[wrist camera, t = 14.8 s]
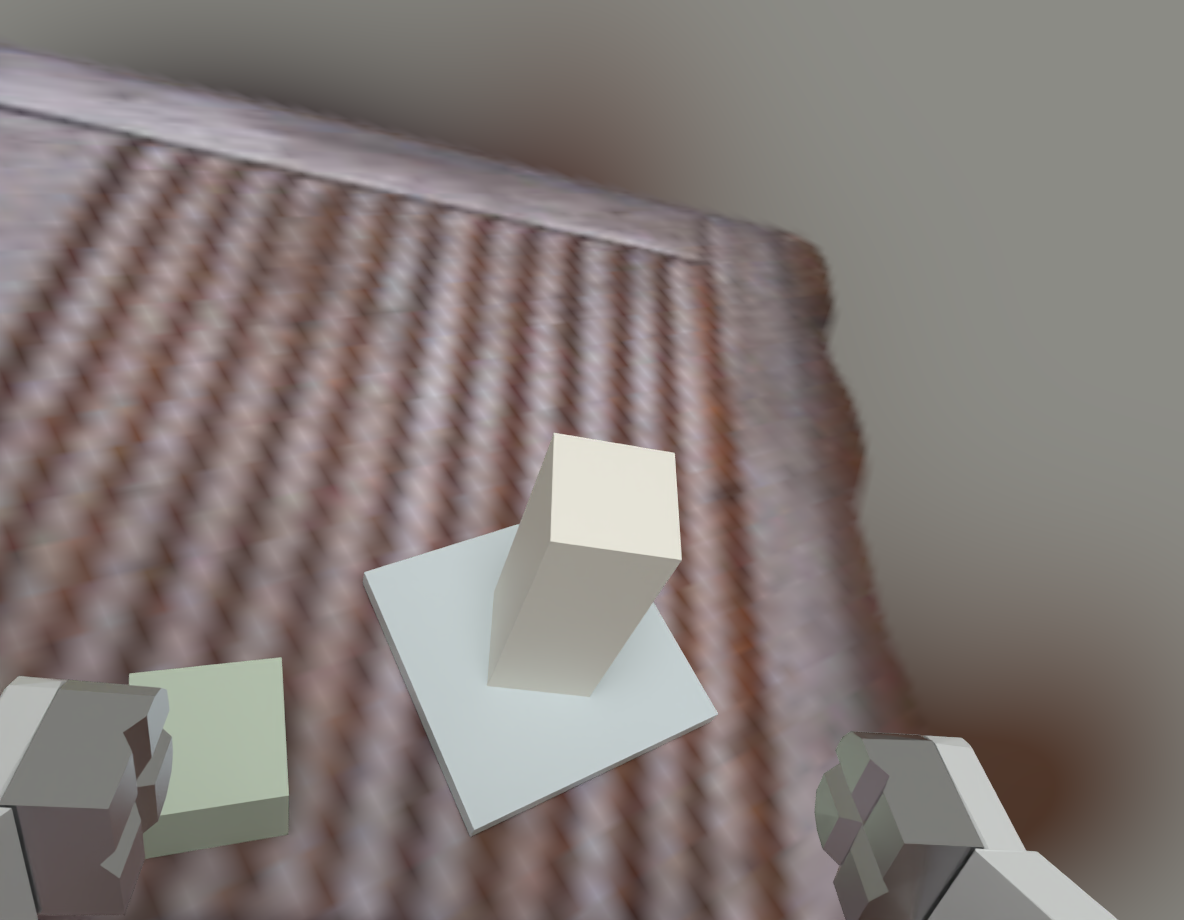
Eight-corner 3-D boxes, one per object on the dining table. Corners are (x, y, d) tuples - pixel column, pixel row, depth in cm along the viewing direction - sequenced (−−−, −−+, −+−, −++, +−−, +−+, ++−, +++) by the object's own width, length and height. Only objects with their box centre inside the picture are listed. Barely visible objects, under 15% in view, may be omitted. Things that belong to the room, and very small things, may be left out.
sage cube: (145, 725, 36) (129, 673, 32) (281, 708, 38) (281, 657, 34) (141, 860, 33) (123, 821, 29) (288, 835, 35) (288, 795, 31)
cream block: (486, 686, 39) (550, 541, 30) (494, 592, 42) (554, 432, 33) (589, 696, 40) (681, 560, 31) (589, 604, 43) (674, 452, 34)
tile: (362, 583, 42) (364, 572, 41) (589, 511, 47) (594, 500, 46) (470, 837, 36) (474, 830, 36) (710, 722, 42) (718, 714, 41)
